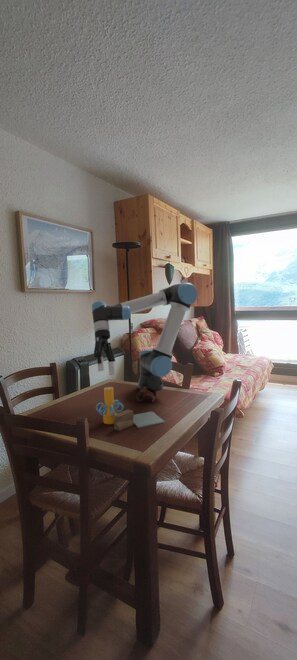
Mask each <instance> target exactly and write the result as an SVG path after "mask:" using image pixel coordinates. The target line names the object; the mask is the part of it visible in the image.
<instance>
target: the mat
mask: <svg viewBox="0 0 297 660" xmlns="http://www.w3.org/2000/svg"><path fill="white" fill-rule="evenodd" d="M164 423H165V420H164V419H162V418H161V417H160V416H159V415H158V414H157V413H155V412H154V411H147V412H142V413H136V414H133V424H134V425H135V427H136V428H138V429H140V428H145V427H149V426H153V425H159V424H164Z"/></svg>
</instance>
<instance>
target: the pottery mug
mask: <svg viewBox="0 0 297 660" xmlns="http://www.w3.org/2000/svg"><path fill="white" fill-rule="evenodd" d="M149 390H150V391H149ZM145 396H149V397H150V398H152V399H151V402H152V403H154V402H155V400H156V398H157V391H156V390H155V391H154V390H153V389H151V388H149V387H144V389H141V390H140V389H139V391H138V393H137V394H136V396H135V397H136V401H137V403H139V402H140V403H143V400H144V398H145Z"/></svg>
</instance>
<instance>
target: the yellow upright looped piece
mask: <svg viewBox="0 0 297 660" xmlns="http://www.w3.org/2000/svg"><path fill="white" fill-rule="evenodd" d="M114 392H115V391H114V387H113V386H107V387H104V388H103V393H104V394H103V397H104V403H103V402H98V403H97V404H96V405H95V409H96V411H97V412H98V413H99V415H101V416H102V419H103V424H105V425H114V415H115V414H118V413H120V412H123V410H124V404H123V403H121V402H120V400H119V399H115V397H114V395H115V393H114ZM99 405H100V407H99ZM120 406H121V409H120V410H119V407H120ZM98 407H99V408H98Z"/></svg>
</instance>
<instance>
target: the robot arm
mask: <svg viewBox="0 0 297 660" xmlns="http://www.w3.org/2000/svg"><path fill="white" fill-rule="evenodd" d="M198 295H199V294H198V290H197V287H196V286H195V285H194V284H193V283H191V282H182V283H177V284H172V285H171V286H168V287H166V288H162V289H160V290H158V292H156V293H152V294H148V295H145V296H141V297H137V298H135V299H130V300H127V301H124V302H120V303H117V304H114V305H107V303H106V302H105V301H102V300H97V301H95V302H93V303H92V305H91V311H92V312H91V314H92V320H93V328H92V329H94V330H93V331H94V343H95V344H94V352H93V356H94V358H96V363H97V372H102V371H103V372H104V371H105V365H104V357H103V356H102V355H103V353H105V357H106V359H107V361H108V362H107V365H108V373H109V376H113V375H115V374H116V373H115V372H116V371H115V370H116V369H115V363H114V362H116V359H115V356H114V352H113V349H112V346H111V345H112V344H111V342H109V341H108V340H109V339H111V332H110V324H109V321H126V320H129V319H130V317H131V315H133V314H135V313H139V312H143V311H145V310H149V309H152V308H155V307H159V306H169V305H170V309H169V312H168V314H167V317H166V320H165V323H164V325H163V328H162V330H161V334H160V336H159V339H158V342H157V344H156V346H155V347H152V349H144V350H140V351H139V356H138V357H139V372H140V374H139V375H140V376H139V379H138V382H137V389H139V391H140V390H141V389H144V387H149V388H151V389H153V390H154V391H155V392H156V391H159V390H162V389H164V382H163V380H162V378H163V377H166V376H167V375H168V374H169V373H171V371H172V369H173V362H172V358H173V353H172V350H173V348H174V346H175V342H176V340H177V337H178V334H179V330H180V328H181V325H182V323H183V320H184V317H185V315H186V312H188V311H189V310H190V309H191V306H192V304H195V302H196V301H197V299H198ZM149 392H150V390H149Z"/></svg>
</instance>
